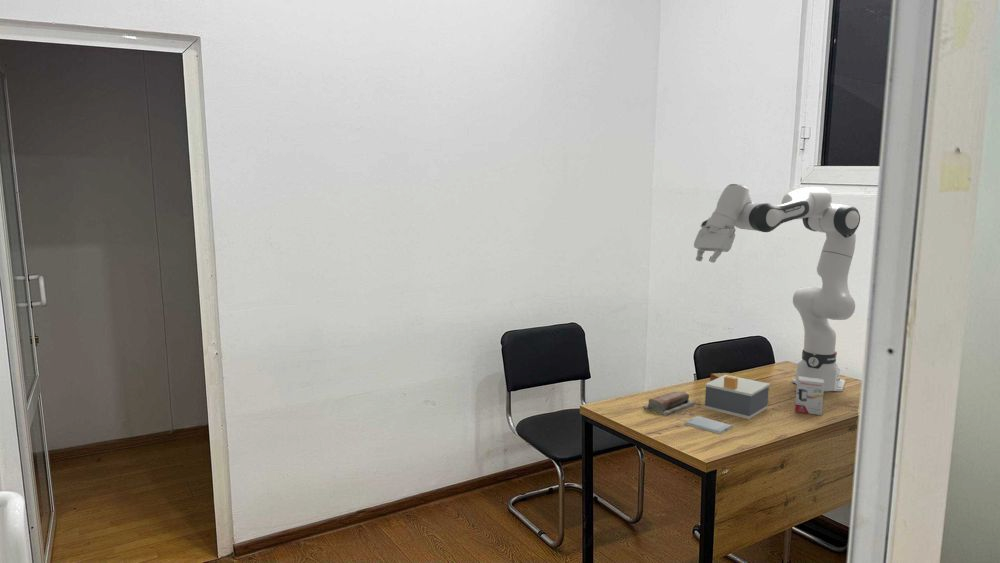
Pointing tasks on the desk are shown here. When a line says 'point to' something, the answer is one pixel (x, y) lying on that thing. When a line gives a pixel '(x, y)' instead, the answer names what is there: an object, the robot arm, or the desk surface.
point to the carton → (718, 375)
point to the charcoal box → (736, 402)
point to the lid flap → (737, 385)
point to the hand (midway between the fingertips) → (704, 261)
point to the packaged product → (669, 403)
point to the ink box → (809, 395)
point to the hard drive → (708, 425)
